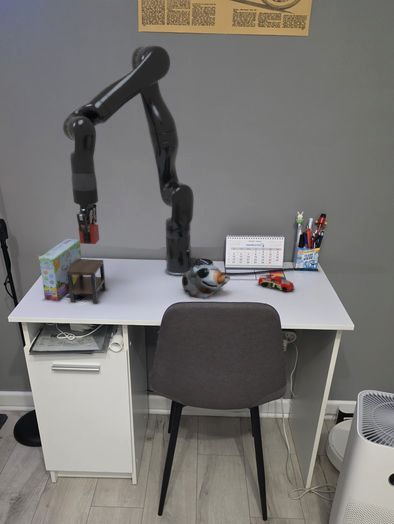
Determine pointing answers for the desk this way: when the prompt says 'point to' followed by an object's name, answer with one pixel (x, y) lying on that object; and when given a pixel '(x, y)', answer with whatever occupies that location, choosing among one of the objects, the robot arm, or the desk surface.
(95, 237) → the block
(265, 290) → the desk surface
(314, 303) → the desk surface
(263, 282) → the race car
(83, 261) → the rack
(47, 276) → the snack box
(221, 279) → the spotted animal figurine
